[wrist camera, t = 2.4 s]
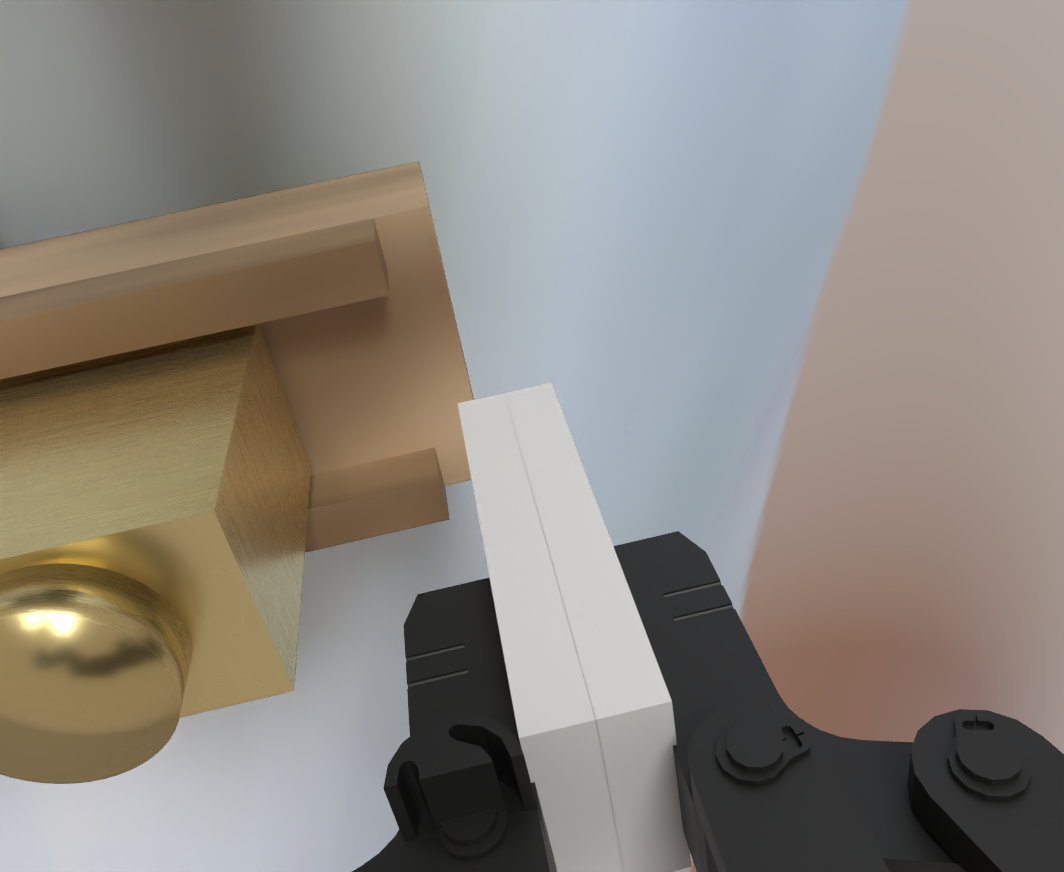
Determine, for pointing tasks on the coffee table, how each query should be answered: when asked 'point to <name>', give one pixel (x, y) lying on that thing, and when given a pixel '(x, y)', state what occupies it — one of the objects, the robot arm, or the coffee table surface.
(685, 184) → the coffee table surface
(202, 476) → the rider
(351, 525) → the beam
